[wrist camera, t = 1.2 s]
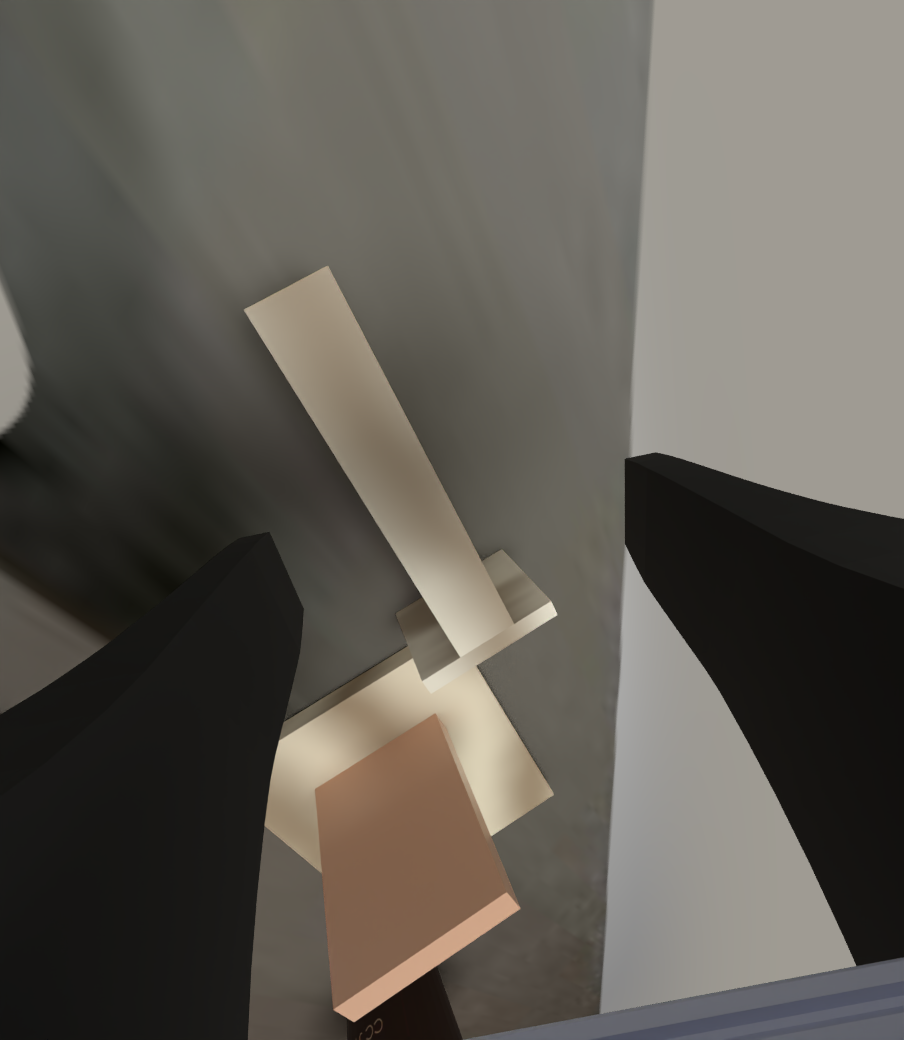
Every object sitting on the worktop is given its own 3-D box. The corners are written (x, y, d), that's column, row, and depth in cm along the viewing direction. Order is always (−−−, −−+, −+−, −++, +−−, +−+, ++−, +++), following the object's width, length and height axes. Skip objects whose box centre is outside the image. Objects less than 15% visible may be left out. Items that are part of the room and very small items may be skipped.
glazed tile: (331, 804, 26) (356, 1023, 18) (314, 789, 25) (333, 1009, 17) (448, 730, 26) (522, 910, 19) (435, 713, 26) (506, 892, 18)
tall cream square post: (402, 624, 24) (430, 694, 20) (206, 333, 17) (183, 341, 13) (507, 560, 25) (557, 614, 20) (358, 253, 18) (385, 235, 14)
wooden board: (369, 898, 31) (372, 915, 30) (214, 764, 24) (212, 781, 23) (546, 781, 32) (554, 794, 31) (448, 620, 25) (455, 632, 24)
